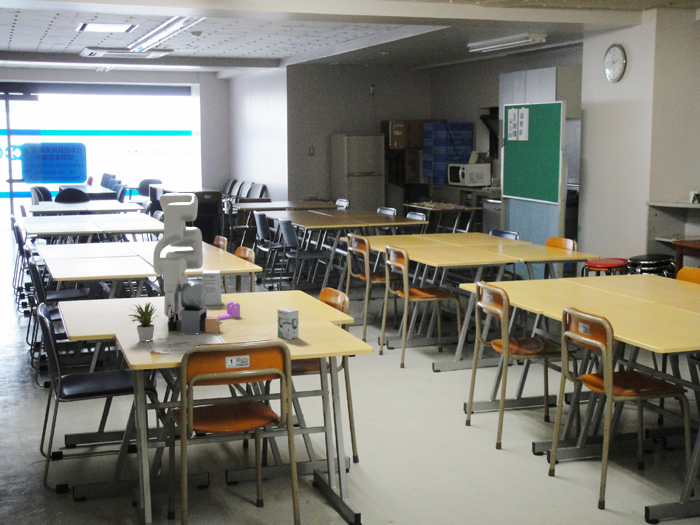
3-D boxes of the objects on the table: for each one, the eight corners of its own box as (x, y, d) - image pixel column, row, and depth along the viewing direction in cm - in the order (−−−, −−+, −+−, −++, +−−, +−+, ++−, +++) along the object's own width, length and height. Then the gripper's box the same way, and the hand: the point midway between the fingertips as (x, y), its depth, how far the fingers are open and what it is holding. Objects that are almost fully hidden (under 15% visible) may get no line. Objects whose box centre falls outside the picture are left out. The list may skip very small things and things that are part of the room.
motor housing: (189, 327, 348) (188, 281, 345) (207, 328, 347) (205, 281, 345) (181, 333, 336) (179, 285, 333) (199, 333, 335) (198, 285, 333)
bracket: (233, 315, 377) (233, 301, 376) (240, 317, 373) (239, 302, 372) (210, 319, 369) (210, 304, 368) (217, 320, 365) (216, 306, 364)
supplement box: (204, 302, 414) (203, 270, 412) (221, 301, 415) (220, 270, 413) (202, 305, 404) (201, 273, 402) (220, 304, 405) (219, 272, 403)
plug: (171, 329, 345) (170, 316, 344) (223, 330, 343) (222, 316, 342) (167, 331, 340) (166, 318, 339) (220, 332, 338) (219, 318, 337)
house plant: (131, 336, 331) (130, 298, 329) (165, 335, 332) (163, 297, 330) (124, 344, 317) (122, 304, 315) (159, 343, 318) (157, 303, 316)
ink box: (277, 336, 330) (276, 308, 328) (286, 334, 333) (285, 307, 331) (290, 339, 323) (289, 311, 322) (299, 337, 327) (298, 310, 325)
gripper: (170, 285, 348) (171, 325, 351) (158, 291, 332) (159, 333, 334) (186, 285, 348) (188, 325, 350) (175, 291, 331) (176, 333, 334)
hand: (174, 329), depth 342 cm, fingers open, 3 cm apart
